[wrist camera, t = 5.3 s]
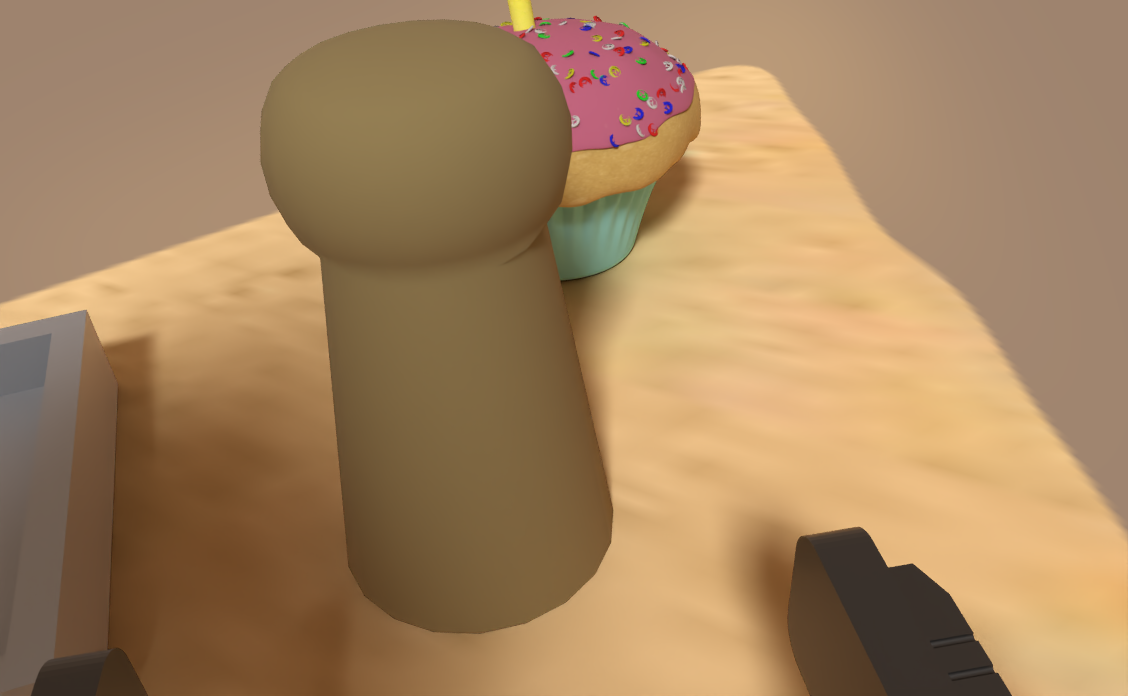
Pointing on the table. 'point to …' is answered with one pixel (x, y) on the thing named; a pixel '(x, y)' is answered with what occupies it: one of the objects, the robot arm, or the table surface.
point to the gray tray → (54, 494)
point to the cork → (444, 316)
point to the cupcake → (610, 130)
